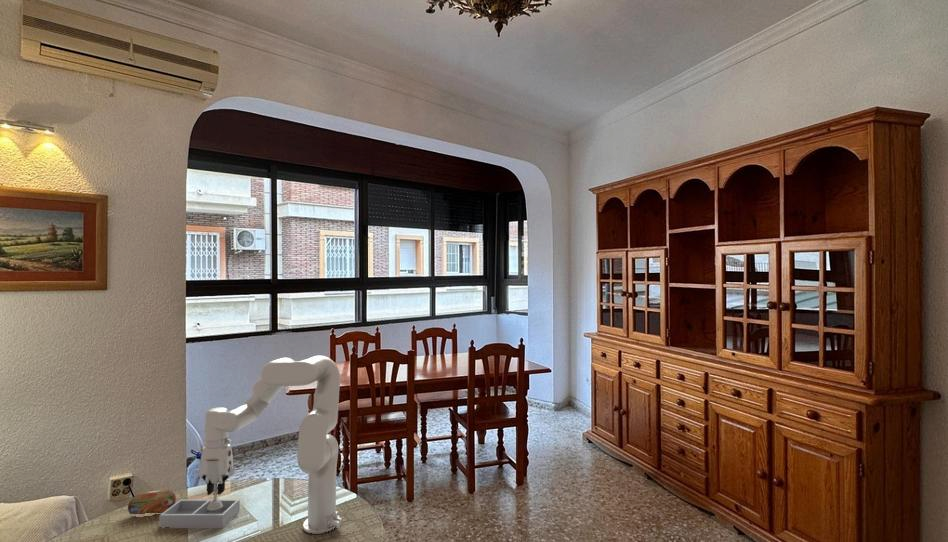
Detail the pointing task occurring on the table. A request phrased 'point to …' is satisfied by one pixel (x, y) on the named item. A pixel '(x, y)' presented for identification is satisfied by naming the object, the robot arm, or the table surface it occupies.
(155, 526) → the table surface
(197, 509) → the holder
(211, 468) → the chalice
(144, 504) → the tin
